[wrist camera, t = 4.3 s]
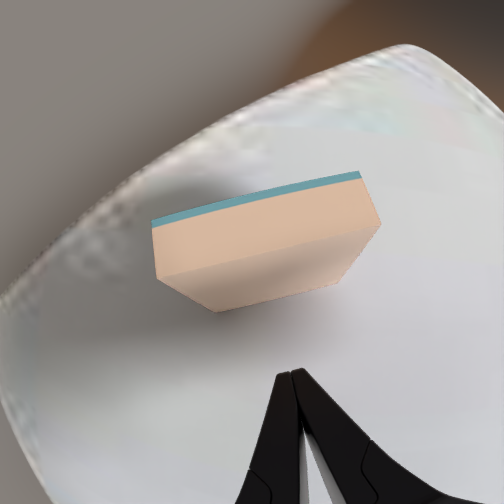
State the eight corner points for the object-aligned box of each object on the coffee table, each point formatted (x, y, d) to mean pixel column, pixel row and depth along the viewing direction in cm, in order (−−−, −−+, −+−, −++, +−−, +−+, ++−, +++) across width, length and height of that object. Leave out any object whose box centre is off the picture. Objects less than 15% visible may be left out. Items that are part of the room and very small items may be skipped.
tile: (337, 283, 16) (381, 224, 8) (215, 312, 16) (156, 278, 8) (327, 250, 17) (358, 170, 9) (208, 278, 17) (151, 220, 9)
